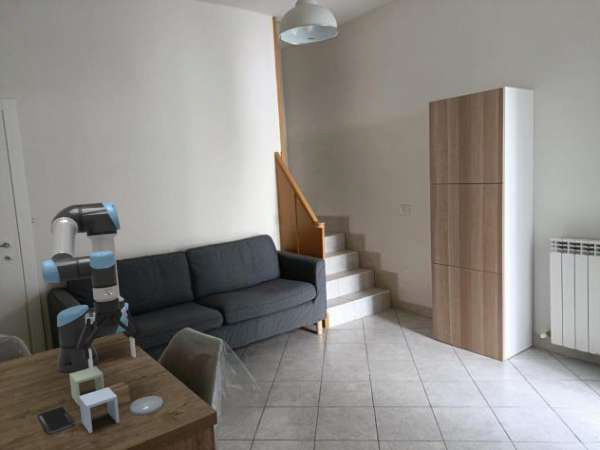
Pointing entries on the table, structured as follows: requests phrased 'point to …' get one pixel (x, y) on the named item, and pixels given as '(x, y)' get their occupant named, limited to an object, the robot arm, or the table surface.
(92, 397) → the blue cover
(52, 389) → the table surface
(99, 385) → the sage cover
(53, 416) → the phone
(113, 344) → the table surface
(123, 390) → the walnut block
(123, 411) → the table surface
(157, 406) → the dish
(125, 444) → the table surface
